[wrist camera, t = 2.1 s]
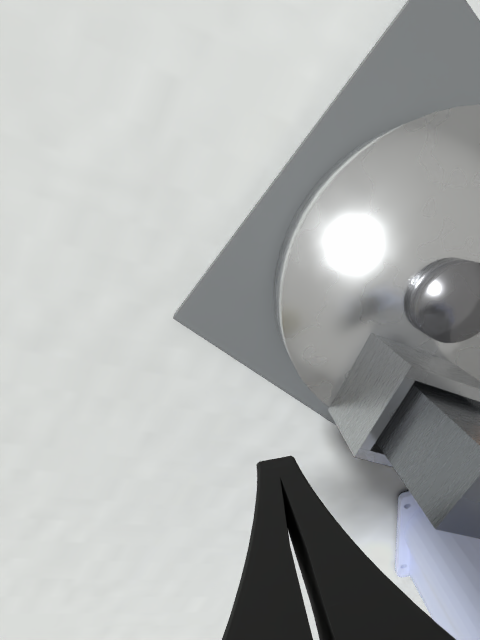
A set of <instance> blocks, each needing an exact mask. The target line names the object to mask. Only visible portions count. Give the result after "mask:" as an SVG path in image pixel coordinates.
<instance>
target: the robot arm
mask: <svg viewBox="0 0 480 640" xmlns="http://www.w3.org/2000/svg"><path fill="white" fill-rule="evenodd" d="M288 531H289V534H290V538H291V541H292V544H293V547H294V551H295V554H296V557H297V560H298V564H299V567H300V570H301V573H302V577H303V580H304V583H305V586H306V590H307V593H308V596H309V599H310V603H311V606H312V610H313V614H314V617H315V622H316V626H317V630H318V634H319V639H320V640H480V539H478V538H473V537H468V536H464V535H459V534H454V533H450V532H445V531H441V530H436V529H435V528H434V527H433V525H432V524H431V522H430V521H429V519H428V518H427V516H426V515H425V513H424V512H423V510H422V509H421V507H420V506H419V505H418V503H417V502H416V500H415V499H414V497H413V496H412V494H411V493H410V491H408V492H404V493H402V494H400V495H399V498H398V517H397V539H396V561H395V572H396V574H397V576H399V577H407V576H410V577H411V579H412V581H413V583H414V585H415V586H416V588H417V590H418V592H419V594H420V596H421V598H422V600H423V602H424V604H425V605H426V607H427V609H428V611H429V613H430V615H431V617H432V618H431V617H429V616H428V615H427V614H426V613H425V612H424V611H423V610H422V609H420V608H419V607H418V606H417V605H416V604H415V603H414V602H413V601H412V600H411V599H410V598H408V597H407V596H406V595H405V594H404V593H403V592H402V591H401V590H400V589H399V588H398V587H397V586H396V585H395V584H394V583H393V582H392V581H391V580H390V579H389V578H388V577H387V576H385V575H384V574H383V573H382V572H381V570H380V569H379V568H378V567H377V566H376V565H375V564H374V563H373V562H372V561H371V560H370V559H369V558H368V557H367V556H366V555H365V554H364V553H363V551H362V550H361V549H360V548H359V547H358V546H357V545H356V544H355V543H354V541H353V540H352V539H351V538H350V537H349V536H348V535H347V533H346V532H345V531H344V530H343V529H342V527H341V526H340V525H339V524H338V522H337V521H336V520H335V519H334V517H333V516H332V515H331V514H330V512H329V511H328V510H327V508H326V507H325V506H324V504H323V503H322V502H321V500H320V499H319V497H318V496H317V495H316V493H315V492H314V490H313V489H312V487H311V486H310V484H309V483H308V481H307V480H306V478H305V477H304V475H303V473H302V472H301V470H300V468H299V466H298V464H297V463H296V461H295V458H294V457H292V456H287V457H282V458H277V459H272V460H266V461H261V462H259V463H258V464H257V495H256V504H255V512H254V520H253V526H252V531H251V536H250V542H249V547H248V552H247V556H246V560H245V565H244V569H243V573H242V577H241V580H240V584H239V588H238V591H237V594H236V598H235V601H234V605H233V608H232V611H231V615H230V618H229V621H228V624H227V627H226V630H225V632H224V635H223V638H222V640H313V638H312V634H311V630H310V626H309V622H308V618H307V614H306V610H305V606H304V602H303V598H302V593H301V589H300V585H299V581H298V577H297V573H296V569H295V564H294V560H293V556H292V552H291V548H290V542H289V535H288Z"/></svg>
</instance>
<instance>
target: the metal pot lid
mask: <svg viewBox="0 0 480 640" xmlns="http://www.w3.org/2000/svg"><path fill="white" fill-rule="evenodd" d="M273 299H274V312H275V318H276V323H277V328H278V331H279V333H280V336H281V339H282V342H283V344H284V346H285V348H286V350H287V352H288V354H289V356H290V359H291V361H292V362H293V364H294V366H295V368H296V370H297V372H298V374H299V376H300V377H301V379H302V380H303V381H304V383H305V384H306V385H307V387H308V388H309V389H310V390H311V391H312V392H313V393H314V394H315V395H316V396H317V397H318V398H319V399H320V400H321V401H322V402H323V403H325V404H326V405H327V406H329V409H328V411H329V413H330V414H331V416H332V418H333V420H334V422H335V423H336V425H337V427H338V429H339V431H340V432H341V434H342V436H343V438H344V440H345V442H346V443H347V445H348V447H349V449H350V451H351V452H352V454H353V456H354V457H356V458H360V459H364V460H367V461H371V462H375V463H379V464H383V465H387V466H391V467H393V466H392V465H391V463H390V462H389V460H388V459H387V457H386V456H385V455H384V453H383V452H382V450H381V449H380V447H379V446H378V444H377V443H376V441H377V439H378V438H379V436H380V434H381V433H382V431H383V430H384V428H385V427H386V425H387V424H388V422H389V420H390V419H391V417H392V416H393V414H394V413H395V411H396V410H397V408H398V407H399V405H400V403H401V402H402V400H403V399H404V397H405V396H406V394H407V393H408V391H409V390H410V388H411V386H412V385H413V383H414V382H415V380H416V381H419V382H422V383H425V384H428V385H431V386H434V387H437V388H440V389H443V390H446V391H449V392H452V393H455V394H458V395H461V396H462V397H464V398H465V399H466V400H467V401H469V402H470V403H471V404H473V405H474V406H475V407H476V408H478V409H479V410H480V105H470V106H458V107H454V108H450V109H446V110H442V111H438V112H434V113H431V114H428V115H426V116H423V117H421V118H418V119H416V120H413V121H411V122H408V123H406V124H403V125H401V126H398V127H396V128H393V129H391V130H389V131H386V132H384V133H381V134H379V135H377V136H376V137H374V138H372V139H370V140H369V141H367V142H365V143H363V144H361V145H360V146H358V147H357V148H356V149H354V150H353V151H352V152H350V153H349V154H347V155H346V156H345V157H343V158H342V159H341V160H340V161H339V162H338V163H336V164H335V165H334V166H333V167H332V168H331V169H330V170H329V171H328V172H327V173H326V174H325V175H324V176H323V177H322V178H321V179H320V180H319V182H318V183H317V184H316V185H315V187H314V188H313V189H312V190H311V191H310V193H309V194H308V195H307V197H306V198H305V200H304V201H303V203H302V204H301V206H300V208H299V209H298V211H297V212H296V214H295V216H294V218H293V220H292V222H291V224H290V226H289V228H288V230H287V232H286V235H285V237H284V240H283V243H282V246H281V249H280V252H279V255H278V260H277V265H276V270H275V276H274V288H273Z"/></svg>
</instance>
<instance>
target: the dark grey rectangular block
mask: <svg viewBox="0 0 480 640" xmlns="http://www.w3.org/2000/svg"><path fill="white" fill-rule="evenodd" d="M376 443H377V444H378V446H379V447H380V449H381V450H382V452H383V453H384V455H385V456H386V457H387V459H388V460H389V462H390V463H391V465H392V466H393V468H394V469H395V471H396V472H397V474H398V475H399V477H400V478H401V480H402V481H403V482H404V484H405V485H406V487H407V488H408V490H409V491H410V493H411V494H412V496H413V497H414V499H415V500H416V502H417V503H418V505H419V506H420V507H421V509H422V510H423V512H424V513H425V515H426V516H427V518H428V519H429V521H430V522H431V524H432V525H433V527H434V528H435V529H436V530H441V531H445V532H450V533H454V534H459V535H464V536H468V537H473V538H478V539H480V410H479V409H478V408H476V407H475V406H474V405H473V404H471V403H470V402H469V401H467V400H466V399H465V398H464V397H462V396H461V395H458V394H455V393H452V392H449V391H446V390H443V389H440V388H437V387H434V386H431V385H428V384H425V383H422V382H419V381H416V380H415V382H414V383H413V385H412V386H411V388H410V390H409V391H408V393H407V394H406V396H405V397H404V399H403V400H402V402H401V403H400V405H399V407H398V408H397V410H396V411H395V413H394V414H393V416H392V417H391V419H390V420H389V422H388V424H387V425H386V427H385V428H384V430H383V431H382V433H381V434H380V436H379V438H378V439H377V441H376Z"/></svg>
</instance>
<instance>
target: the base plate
mask: <svg viewBox="0 0 480 640" xmlns="http://www.w3.org/2000/svg"><path fill="white" fill-rule="evenodd" d="M470 105H480V20H479V19H478V17H477V16H476V15H475V13H474V12H473V10H472V9H471V7H470V6H469V4H468V3H467V1H466V0H408V1H407V3H406V4H405V5H404V7H403V8H402V9H401V11H400V12H399V13H398V15H397V16H396V17H395V19H394V20H393V22H392V23H391V24H390V26H389V27H388V28H387V30H386V31H385V32H384V34H383V35H382V36H381V38H380V39H379V40H378V42H377V43H376V44H375V46H374V47H373V48H372V50H371V51H370V52H369V54H368V55H367V56H366V58H365V59H364V60H363V62H362V63H361V64H360V66H359V67H358V69H357V70H356V71H355V73H354V74H353V75H352V77H351V78H350V79H349V81H348V82H347V83H346V85H345V86H344V87H343V89H342V90H341V91H340V93H339V94H338V95H337V97H336V98H335V99H334V101H333V102H332V103H331V105H330V106H329V107H328V109H327V110H326V111H325V113H324V114H323V115H322V117H321V118H320V120H319V121H318V122H317V124H316V125H315V126H314V128H313V129H312V130H311V132H310V133H309V134H308V136H307V137H306V138H305V140H304V141H303V142H302V144H301V145H300V146H299V148H298V149H297V150H296V152H295V153H294V154H293V156H292V157H291V158H290V160H289V161H288V162H287V164H286V165H285V167H284V168H283V169H282V171H281V172H280V173H279V175H278V176H277V177H276V179H275V180H274V181H273V183H272V184H271V185H270V187H269V188H268V189H267V191H266V192H265V193H264V195H263V196H262V197H261V199H260V200H259V201H258V203H257V204H256V205H255V207H254V208H253V209H252V211H251V212H250V213H249V215H248V216H247V218H246V219H245V220H244V222H243V223H242V224H241V226H240V227H239V228H238V230H237V231H236V232H235V234H234V235H233V236H232V238H231V239H230V240H229V242H228V243H227V244H226V246H225V247H224V248H223V250H222V251H221V252H220V254H219V255H218V256H217V258H216V259H215V260H214V262H213V263H212V265H211V266H210V267H209V269H208V270H207V271H206V273H205V274H204V275H203V277H202V278H201V279H200V281H199V282H198V283H197V285H196V286H195V287H194V289H193V290H192V291H191V293H190V294H189V295H188V297H187V298H186V299H185V301H184V302H183V303H182V305H181V306H180V307H179V309H178V310H177V312H176V313H175V314H174V317H173V319H175V320H176V321H178V322H179V323H181V324H183V325H184V326H186V327H187V328H189V329H190V330H192V331H193V332H195V333H196V334H198V335H199V336H201V337H202V338H204V339H205V340H207V341H208V342H210V343H212V344H213V345H215V346H216V347H218V348H219V349H221V350H222V351H224V352H225V353H227V354H228V355H230V356H231V357H233V358H234V359H236V360H237V361H239V362H240V363H242V364H244V365H245V366H247V367H248V368H250V369H251V370H253V371H254V372H256V373H257V374H259V375H260V376H262V377H263V378H265V379H266V380H268V381H269V382H271V383H273V384H274V385H276V386H277V387H279V388H280V389H282V390H283V391H285V392H286V393H288V394H289V395H291V396H292V397H294V398H295V399H297V400H298V401H300V402H301V403H303V404H305V405H306V406H308V407H309V408H311V409H312V410H314V411H315V412H317V413H318V414H320V415H321V416H323V417H324V418H326V419H327V420H329V421H330V422H332V423H333V424H335V425H336V423H335V422H334V420H333V418H332V416H331V414H330V413H329V411H328V409H329V406H327V405H326V404H325V403H323V402H322V401H321V400H320V399H319V398H318V397H317V396H316V395H315V394H314V393H313V392H312V391H311V390H310V389H309V388H308V387H307V385H306V384H305V383H304V381H303V380H302V379H301V377H300V376H299V374H298V372H297V370H296V368H295V366H294V364H293V362H292V361H291V359H290V356H289V354H288V352H287V350H286V348H285V346H284V344H283V342H282V339H281V336H280V333H279V331H278V328H277V323H276V318H275V312H274V299H273V288H274V276H275V270H276V265H277V260H278V255H279V252H280V249H281V246H282V243H283V240H284V237H285V235H286V232H287V230H288V228H289V226H290V224H291V222H292V220H293V218H294V216H295V214H296V212H297V211H298V209H299V208H300V206H301V204H302V203H303V201H304V200H305V198H306V197H307V195H308V194H309V193H310V191H311V190H312V189H313V188H314V187H315V185H316V184H317V183H318V182H319V180H320V179H321V178H322V177H323V176H324V175H325V174H326V173H327V172H328V171H329V170H330V169H331V168H332V167H333V166H334V165H335V164H336V163H338V162H339V161H340V160H341V159H342V158H343V157H345V156H346V155H347V154H349V153H350V152H352V151H353V150H354V149H356V148H357V147H358V146H360V145H361V144H363V143H365V142H367V141H369V140H370V139H372V138H374V137H376V136H377V135H379V134H381V133H384V132H386V131H389V130H391V129H393V128H396V127H398V126H401V125H403V124H406V123H408V122H411V121H413V120H416V119H418V118H421V117H423V116H426V115H428V114H431V113H434V112H438V111H442V110H446V109H450V108H454V107H458V106H470Z"/></svg>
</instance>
